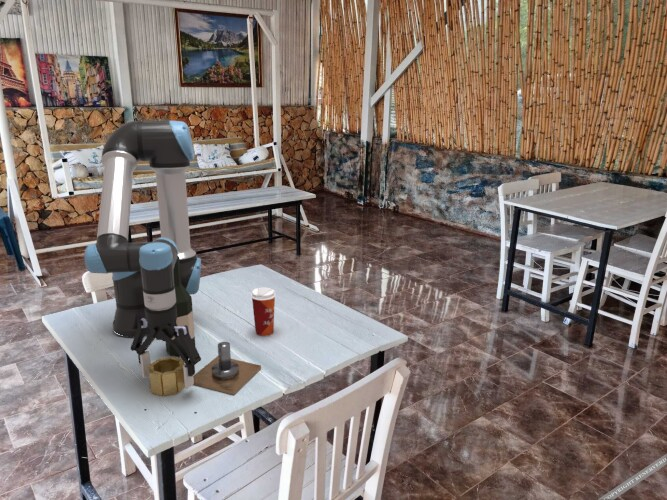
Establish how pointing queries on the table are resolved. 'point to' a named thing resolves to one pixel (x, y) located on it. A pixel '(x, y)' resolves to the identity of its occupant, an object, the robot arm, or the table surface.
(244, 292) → the table surface
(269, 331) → the paper cup
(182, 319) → the wine bottle
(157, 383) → the collar
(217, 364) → the doorknob
